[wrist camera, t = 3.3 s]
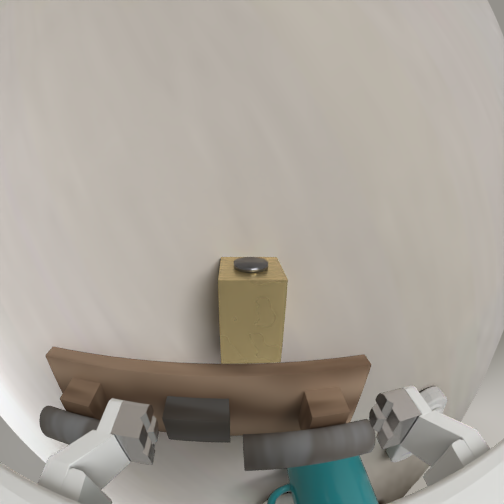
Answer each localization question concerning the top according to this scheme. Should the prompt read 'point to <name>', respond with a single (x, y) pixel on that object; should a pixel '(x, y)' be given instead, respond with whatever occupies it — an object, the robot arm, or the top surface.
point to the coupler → (251, 309)
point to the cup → (328, 483)
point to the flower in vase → (283, 499)
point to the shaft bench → (237, 381)
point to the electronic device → (435, 402)
